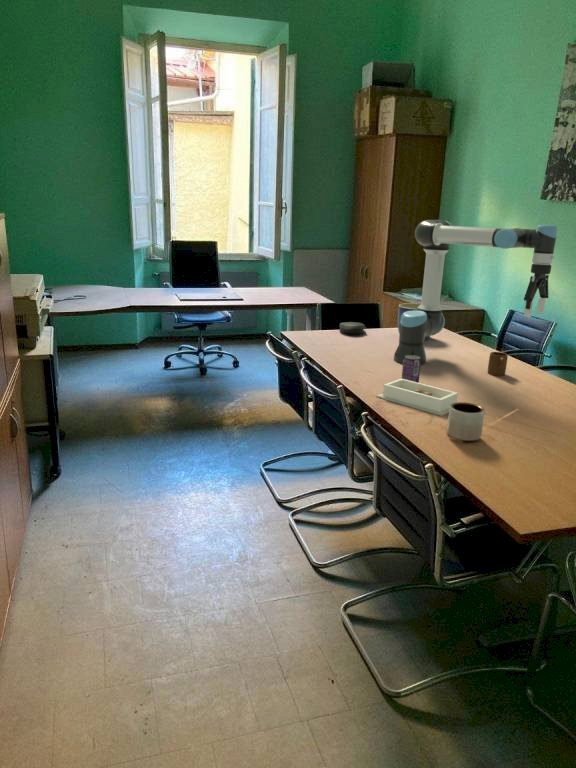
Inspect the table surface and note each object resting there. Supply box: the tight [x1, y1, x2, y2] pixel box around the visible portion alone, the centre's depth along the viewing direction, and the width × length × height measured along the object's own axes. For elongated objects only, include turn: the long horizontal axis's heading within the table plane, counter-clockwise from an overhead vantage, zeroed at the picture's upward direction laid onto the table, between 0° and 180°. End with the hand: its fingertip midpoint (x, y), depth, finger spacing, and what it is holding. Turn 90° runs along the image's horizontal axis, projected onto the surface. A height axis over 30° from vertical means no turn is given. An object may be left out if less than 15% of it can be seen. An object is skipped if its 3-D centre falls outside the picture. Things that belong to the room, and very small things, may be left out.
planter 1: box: [397, 302, 431, 341], centre depth 318 cm, size 21×21×19 cm
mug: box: [487, 351, 509, 377], centre depth 255 cm, size 12×8×9 cm, turn 175°
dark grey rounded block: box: [339, 321, 367, 337], centre depth 326 cm, size 14×18×8 cm
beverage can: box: [401, 355, 422, 383], centre depth 236 cm, size 7×7×12 cm
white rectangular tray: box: [375, 378, 459, 417], centre depth 217 cm, size 28×16×5 cm, turn 47°
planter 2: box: [446, 401, 485, 442], centre depth 184 cm, size 11×11×10 cm
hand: (533, 315), depth 242 cm, fingers open, 13 cm apart
